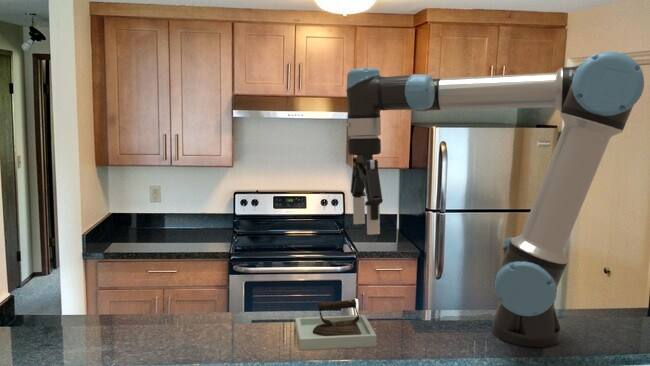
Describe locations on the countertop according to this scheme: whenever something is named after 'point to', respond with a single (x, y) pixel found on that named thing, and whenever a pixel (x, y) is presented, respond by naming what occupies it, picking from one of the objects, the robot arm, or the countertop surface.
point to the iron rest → (331, 342)
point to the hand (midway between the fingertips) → (366, 228)
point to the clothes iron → (339, 326)
